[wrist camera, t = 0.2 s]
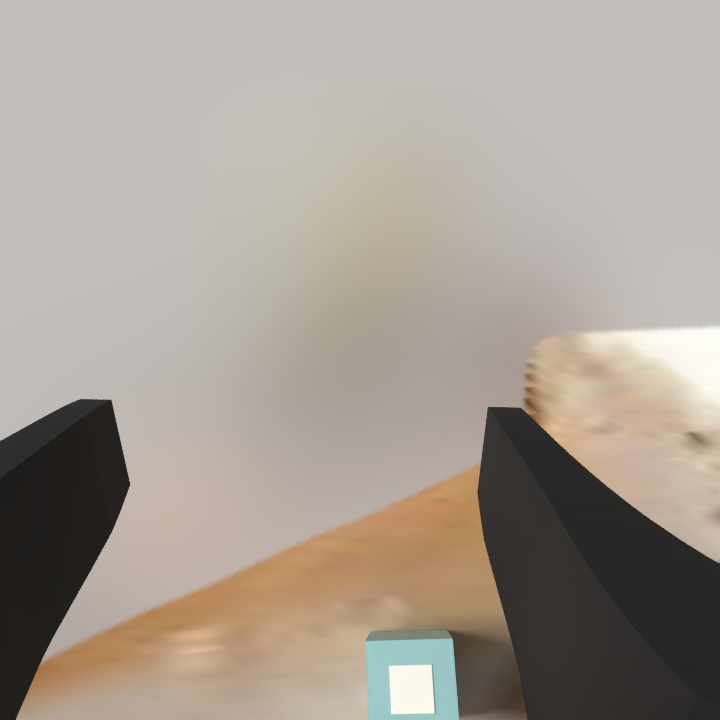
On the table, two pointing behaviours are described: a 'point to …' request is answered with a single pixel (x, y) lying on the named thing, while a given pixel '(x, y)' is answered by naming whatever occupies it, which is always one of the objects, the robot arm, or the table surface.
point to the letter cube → (411, 676)
